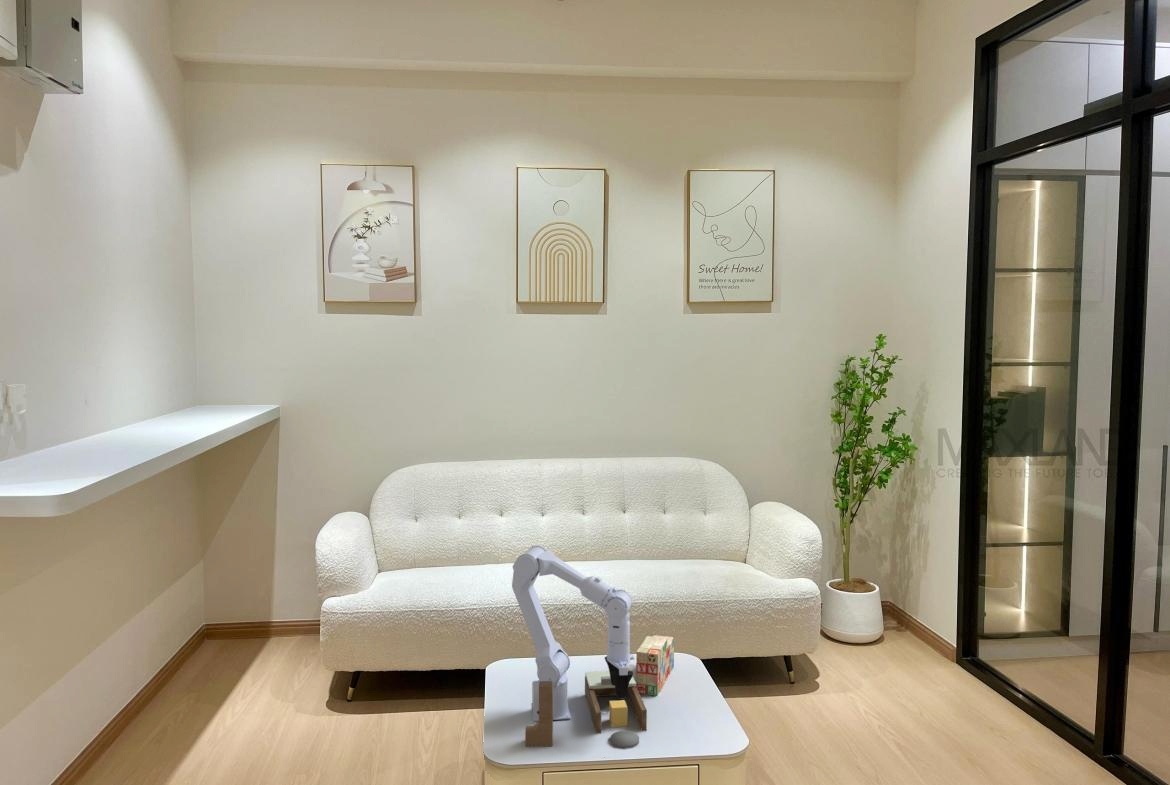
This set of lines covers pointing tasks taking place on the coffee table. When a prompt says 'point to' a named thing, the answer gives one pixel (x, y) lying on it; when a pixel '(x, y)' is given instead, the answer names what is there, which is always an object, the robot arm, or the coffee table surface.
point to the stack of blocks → (654, 664)
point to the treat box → (631, 693)
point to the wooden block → (542, 718)
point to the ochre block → (618, 713)
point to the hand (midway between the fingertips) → (618, 691)
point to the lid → (602, 679)
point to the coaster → (624, 739)
